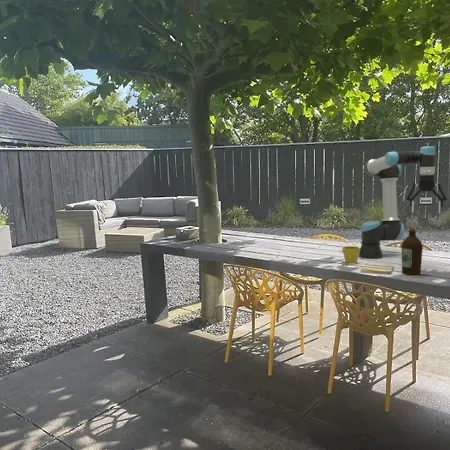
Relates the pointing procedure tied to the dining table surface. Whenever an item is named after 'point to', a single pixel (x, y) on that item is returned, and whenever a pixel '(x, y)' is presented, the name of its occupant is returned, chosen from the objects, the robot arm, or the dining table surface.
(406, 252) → the olive oil
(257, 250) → the dining table surface
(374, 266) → the ash board
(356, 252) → the plant pot
